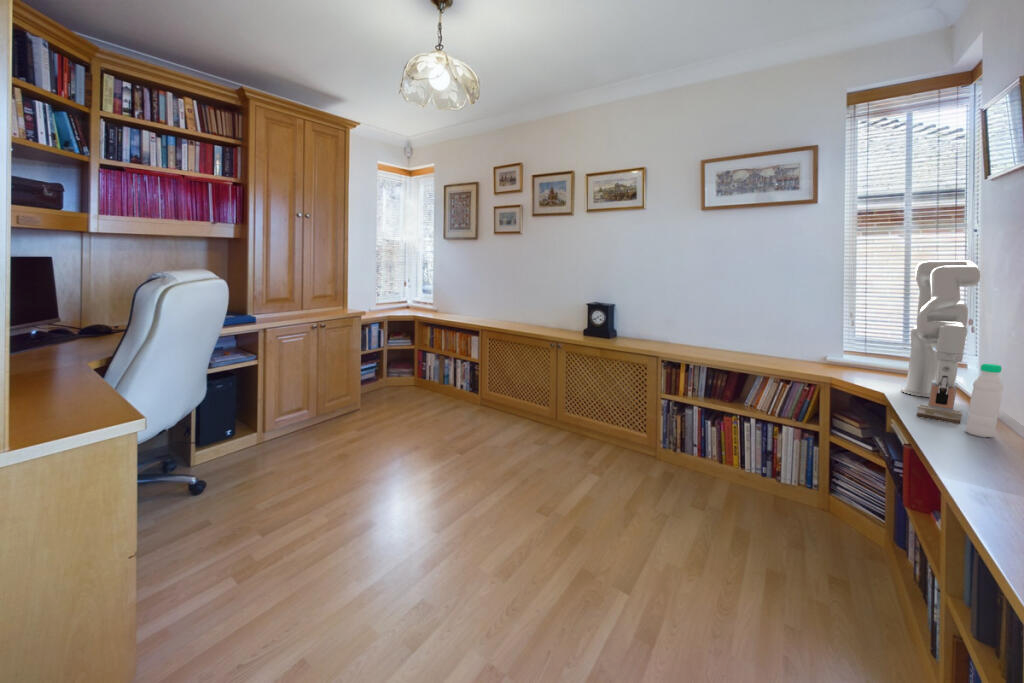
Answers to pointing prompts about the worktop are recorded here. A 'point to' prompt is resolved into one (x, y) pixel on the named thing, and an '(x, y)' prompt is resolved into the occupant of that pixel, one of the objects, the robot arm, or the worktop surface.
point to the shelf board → (939, 414)
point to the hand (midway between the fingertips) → (941, 401)
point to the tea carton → (950, 397)
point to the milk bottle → (985, 402)
